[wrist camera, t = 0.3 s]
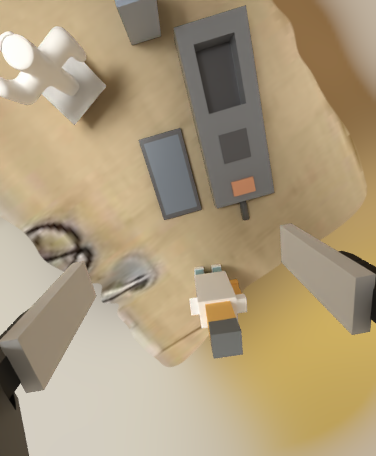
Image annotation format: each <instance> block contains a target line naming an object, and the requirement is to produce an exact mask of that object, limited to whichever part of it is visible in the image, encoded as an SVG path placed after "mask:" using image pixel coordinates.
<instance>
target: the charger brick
mask: <svg viewBox="0 0 376 456" xmlns="http://www.w3.org/2000/svg"><path fill="white" fill-rule="evenodd" d="M115 3H116V7H117V9H118V12H119V14H120V17H121V19H122V22H123V24H124V27H125V29H126V32H127V34H128V37H129V39H130V42H131V44H132V45H134V44H137V43H141V42H144V41H147V40H150V39H154V38H157V37H160V36H161V31H160V23H159V15H158V8H157V0H115Z"/></svg>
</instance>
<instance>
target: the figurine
mask: <svg viewBox="0 0 376 456" xmlns="http://www.w3.org/2000/svg"><path fill="white" fill-rule="evenodd" d="M0 51H1V52H2V53H3V56H4V58H5V60H6V61H7V63H8V64H9V65H10V66H12V67H13V68H15V69H17V70H20V71H21V72H20V73H19V75H18V76H17V77H16V78H15V79H13V80H8V79H5V78H2V77H0V96H1V97H3V98H6V99H9V100H12V101H15V102H18V103H21V104H24V105H31V104H33V103H35V102H36V101H37V99H38V98H39V97H40V95H41V94H42V95H43V96H44V97H45V98H46V99H47V100H48V101H50V102H51V103H52V104H53V105H54V106H55V107H56V108H57V109H58V110H59V111H60V112H61V113H62V114H63V115H64V116H65V117H66V118H68V119H69V120H70V121H71V122H72V123H73V124H74V125H75V124H76V123H77V122H78V120H79V119H80V118H81V117H82V116H83V114H84V113H85V112H86V111H87V109H88V108H89V107H90V106H91V105H92V103H93V102H94V101H95V100H96V98H97V97H98V96H99V95H100V93H101V92H102V91H103V90H104V89H105V87H106V85H105V84H104V83H103V82H102V81H101V80H100V78H99V77H98V76H97V75H96V74H95V73H94V72H93V71H92V70H91V69H90V68H89V67H88V66H87V65H86V64H85V63H84V61H85V60H86V53H85V51H84V49H83V48H82V47H81V46H80V45H79V43H78V42H77V41H76V40H75V39H74V38H73V37H72V35H71V34H70V33H68V32H67V31H66V30H65V29H63V28H62V27H59V26H55V27H53V28H52V29H51V30H50V32H49V33H48V34H47V36H46V37H45V38H44V40H43V41H42V43H41V44H40V45H39V47H36V46H35V45H34V44H33V43H31V42H30V41H28V40H27V39H26V38H24V37H23V36H21V35H18V34H14V33H13V32H10V31H8V32H4V33H3V34H1V35H0Z"/></svg>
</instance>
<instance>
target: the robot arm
mask: <svg viewBox="0 0 376 456" xmlns="http://www.w3.org/2000/svg"><path fill="white" fill-rule="evenodd" d="M280 239H281V260H282V263H283V265H285V267H286V268H287V269H288V270H289V271H290V272H291V273H292V274H293V275H294V276H295V277H296V278H297V279H298V280H299V281H300V282H301V283H302V284H303V285H304V286H305V287H306V288H307V289H308V290H309V291H310V292H311V293H312V294H313V295H314V296H315V297H316V298H317V299H318V301H319V302H320V303H322V305H323V306H325V308H326V309H327V310H328V311H329V312H330V313H331V314H332V315H333V316H334V317H335V318H336V319H337V320H338V321H339V322H340V323H341V324H342V325H343V326H344V327H345V328H346V329H347V330H348V331H349V332H350V333H351V334H352V335H354V334H360V333H365V332H370V327H371V320H373V321H374V322H375V323H376V267H375V266H373V265H371V264H369V263H368V262H366V261H364V260H362V259H361V258H359V257H357V256H355V255H354V254H351V253H348V252H344V251H336V250H335V249H333V248H331V247H330V246H328V245H326V244H325V243H323V242H321V241H320V240H318V239H316V238H315V237H313V236H312V235H310V234H308V233H307V232H305V231H303V230H302V229H300V228H298V227H297V226H295V225H293V224H292V223H290V224H285V225H280ZM95 298H96V294H95V291H94V288H93V285H92V282H91V280H90V277H89V274H88V271H87V268H86V266H85V263H84V261H82V262H76V263H72V264H71V265H70V266H69V267H68V269H67V270H66V271H65V272H64V273H63V274H62V275H61V276H60V277H59V278H58V279H57V280H56V281H55V282H54V283H53V284H52V286H51V287H50V288H49V289H48V290H47V291H46V292H45V293H44V294H43V295H42V296H41V297H40V298H39V299H38V300H37V301H36V303H34V305H33V306H32V307H31V308H30V309H28V310H27V311H25V312H24V313H23V314H21V315H20V316H19V317H18V318H17V319H16V320H15V321H14V322H13V324H11V325H10V326H9V327H8V329H7V330H6V331H5V332H4V333H3V334H2V335H1V336H0V456H29V453H28V448H27V443H26V438H25V432H24V427H23V422H22V417H21V412H20V407H19V401H18V397H17V396H16V394H15V390H16V389H17V387H18V386H19V384H20V383H21V385H22V386H23V388H24V390H25V392H26V393H29V392H35V391H41V390H44V389H45V387H46V386H47V384H48V382H49V380H50V378H51V377H52V375H53V373H54V371H55V369H56V368H57V366H58V364H59V362H60V360H61V359H62V357H63V355H64V353H65V351H66V350H67V348H68V346H69V344H70V343H71V340H72V339H73V337H74V335H75V334H76V332H77V330H78V328H79V326H80V325H81V323H82V321H83V319H84V317H85V316H86V314H87V312H88V310H89V308H90V307H91V305H92V303H93V301H94V299H95Z"/></svg>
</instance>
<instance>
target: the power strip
mask: <svg viewBox="0 0 376 456" xmlns="http://www.w3.org/2000/svg"><path fill="white" fill-rule="evenodd" d="M174 41H175V45H176V49H177V53H178V57H179V61H180V65H181V69H182V74H183V78H184V82H185V86H186V90H187V94H188V98H189V103H190V107H191V111H192V115H193V119H194V123H195V127H196V131H197V136H198V140H199V144H200V148H201V152H202V156H203V160H204V165H205V169H206V173H207V177H208V181H209V185H210V189H211V193H212V198H213V202H214V205H215V207H216V208H221V207H225V206H228V205H232V204H235V203H240V208H241V213H242V218H243V220H248V219H249V213H248V208H247V203H246V200H250V199H253V198H257V197H261V196H264V195H268V194H271V193H274V187H273V180H272V174H271V167H270V161H269V154H268V147H267V141H266V134H265V128H264V121H263V115H262V108H261V102H260V95H259V89H258V82H257V76H256V69H255V62H254V56H253V49H252V43H251V36H250V30H249V23H248V17H247V10H246V5H245V6H242V7H239V8H236V9H232V10H229V11H226V12H223V13H219V14H216V15H213V16H210V17H207V18H203V19H200V20H197V21H194V22H190V23H187V24H184V25H181V26H178V27H174Z"/></svg>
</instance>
